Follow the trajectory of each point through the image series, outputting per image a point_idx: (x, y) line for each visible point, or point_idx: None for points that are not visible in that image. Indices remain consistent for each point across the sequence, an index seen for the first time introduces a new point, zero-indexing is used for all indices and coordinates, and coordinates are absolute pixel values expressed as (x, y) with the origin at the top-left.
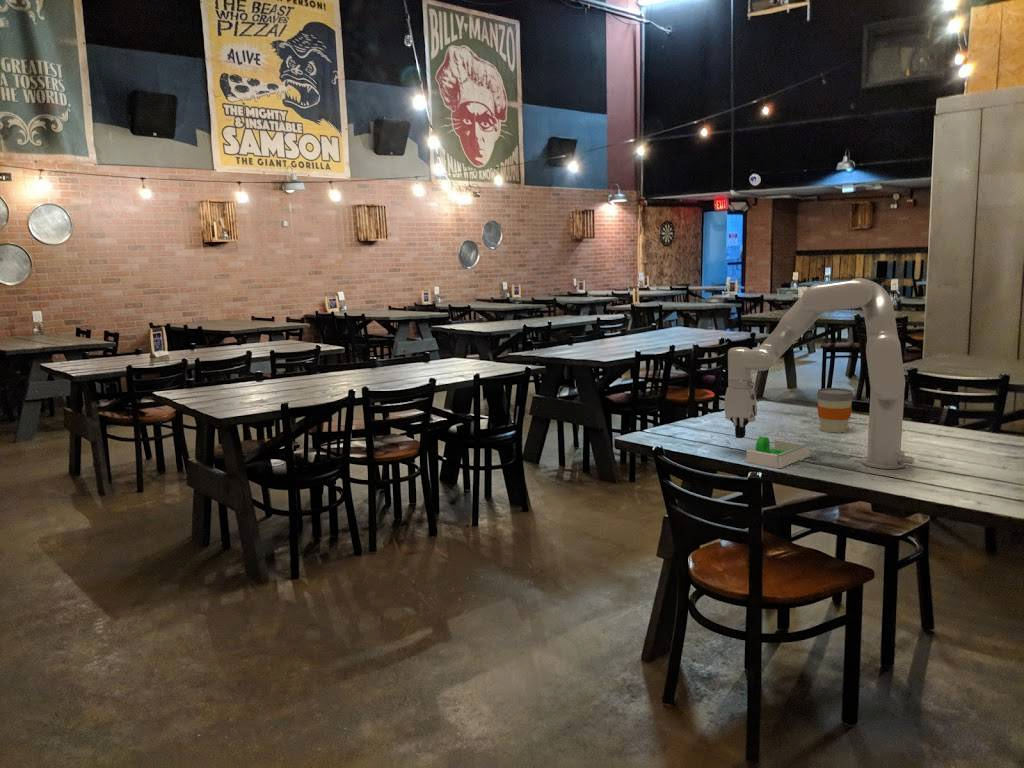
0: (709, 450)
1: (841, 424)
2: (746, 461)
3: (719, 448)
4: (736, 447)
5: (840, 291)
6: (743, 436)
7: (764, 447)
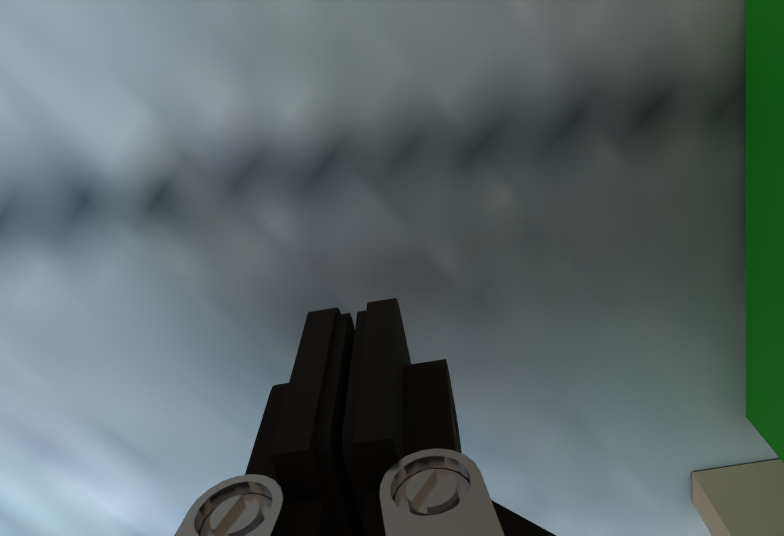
0: (106, 451)
1: None
2: (696, 508)
3: (84, 312)
4: (153, 103)
5: None
6: (403, 340)
7: None
